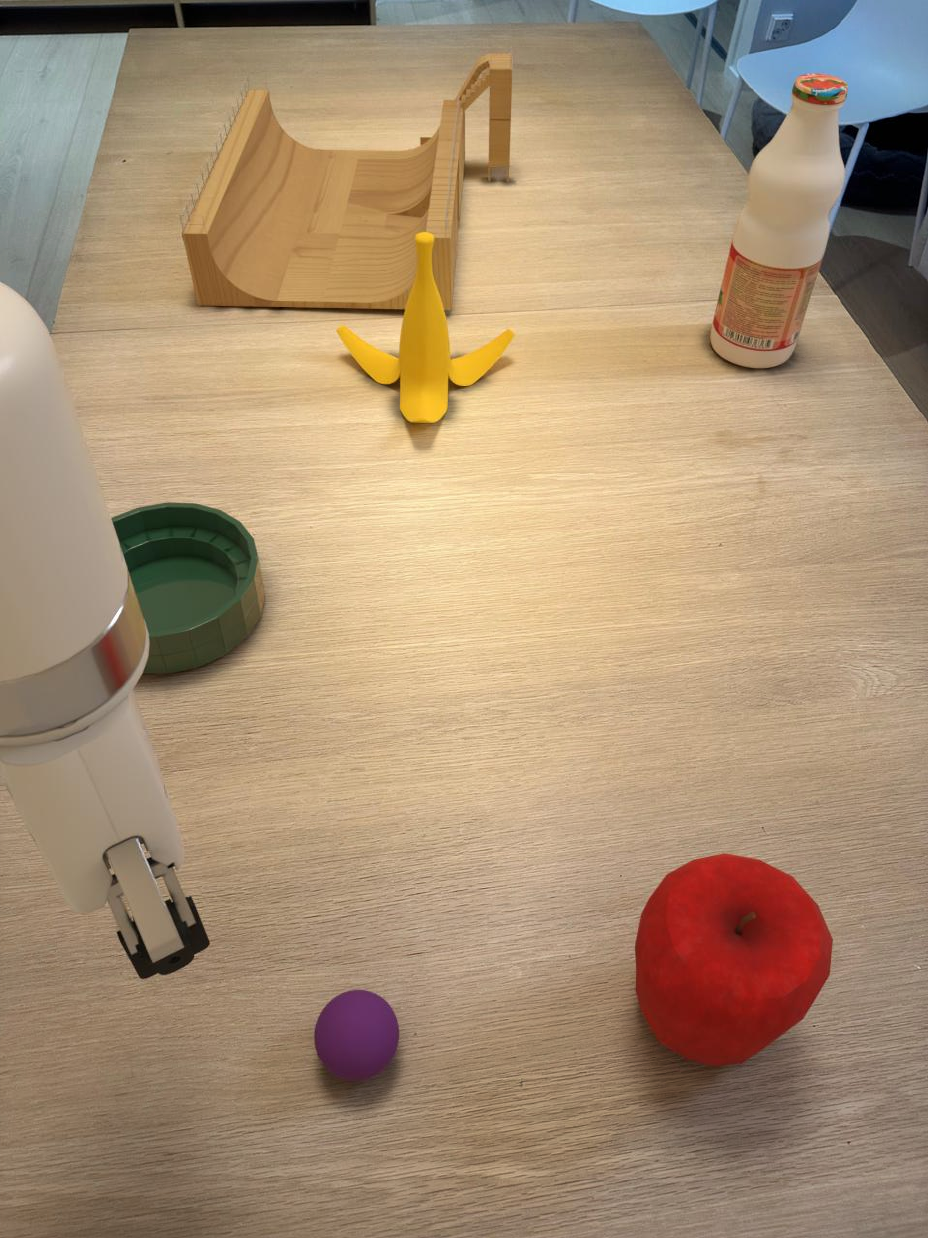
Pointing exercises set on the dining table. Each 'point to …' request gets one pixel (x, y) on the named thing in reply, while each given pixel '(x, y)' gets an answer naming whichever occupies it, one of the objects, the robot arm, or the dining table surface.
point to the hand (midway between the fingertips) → (138, 871)
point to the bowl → (191, 581)
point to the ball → (356, 1035)
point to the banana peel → (424, 349)
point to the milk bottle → (782, 230)
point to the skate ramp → (335, 208)
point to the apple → (728, 958)
